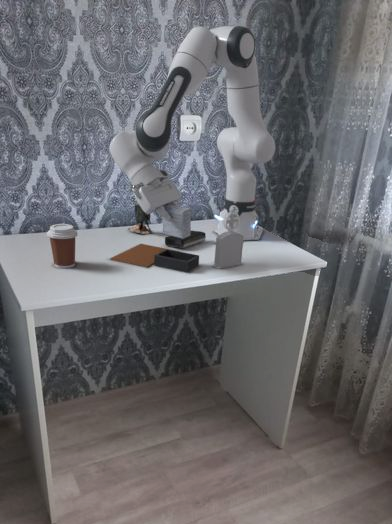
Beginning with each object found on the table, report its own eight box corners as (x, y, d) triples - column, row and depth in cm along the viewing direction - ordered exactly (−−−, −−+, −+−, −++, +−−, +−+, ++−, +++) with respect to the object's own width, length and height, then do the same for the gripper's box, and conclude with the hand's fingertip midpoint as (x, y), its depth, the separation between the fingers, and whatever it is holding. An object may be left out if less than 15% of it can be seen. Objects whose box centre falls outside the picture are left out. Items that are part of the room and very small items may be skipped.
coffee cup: (47, 261, 157) (44, 223, 151) (76, 258, 160) (73, 222, 154) (52, 270, 150) (48, 231, 144) (82, 268, 153) (80, 229, 147)
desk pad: (140, 244, 178) (140, 243, 177) (175, 251, 173) (175, 250, 173) (110, 259, 161) (110, 258, 161) (147, 267, 157) (147, 266, 157)
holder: (165, 258, 165) (166, 248, 164) (198, 265, 161) (199, 255, 160) (154, 265, 159) (154, 255, 157) (188, 272, 155) (188, 262, 153)
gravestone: (240, 264, 165) (246, 209, 156) (219, 268, 160) (223, 212, 151) (235, 261, 167) (240, 208, 158) (214, 266, 162) (218, 210, 153)
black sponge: (180, 251, 173) (181, 241, 172) (162, 246, 178) (162, 236, 176) (207, 242, 185) (208, 232, 183) (189, 237, 189) (190, 228, 188)
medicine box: (190, 235, 155) (191, 208, 151) (182, 239, 152) (183, 211, 148) (170, 231, 159) (171, 204, 155) (162, 234, 156) (162, 206, 151)
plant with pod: (137, 237, 186) (137, 182, 176) (126, 229, 194) (125, 176, 185) (156, 235, 189) (157, 181, 179) (145, 227, 198) (145, 176, 188)
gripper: (136, 179, 142) (165, 218, 143) (169, 170, 158) (195, 205, 160) (123, 193, 145) (152, 231, 147) (156, 183, 162) (182, 217, 163)
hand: (174, 217), depth 153 cm, fingers closed on medicine box, 5 cm apart
